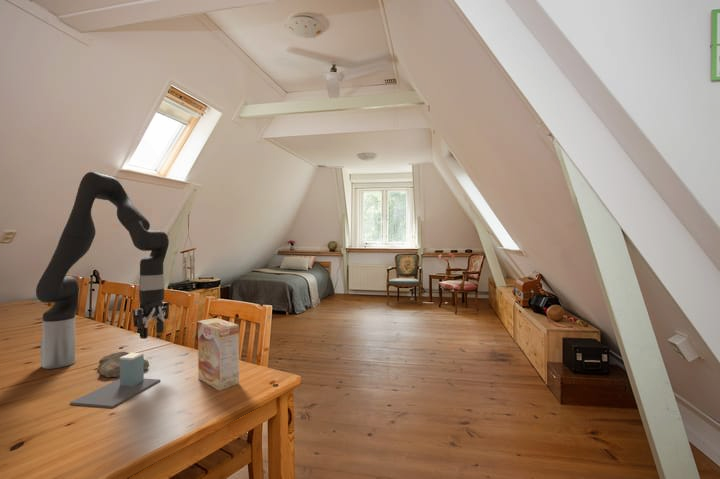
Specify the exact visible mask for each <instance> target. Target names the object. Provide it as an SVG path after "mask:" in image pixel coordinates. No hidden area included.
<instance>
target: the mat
mask: <svg viewBox="0 0 720 479" xmlns="http://www.w3.org/2000/svg"><path fill="white" fill-rule="evenodd" d="M160 382H161V379H159V378H157V379H156V378H144V381H142V382H140V383H138V384H136V385H135V386H133V387H131V386H120V378H118V379H115V380H114V381H112V382H110V383H108V384H106V385H104V386H101V387H99V388H97V389H96V390H93V391H91V392H88V393H86V394H85V395H82V396H79V397H78V398H76V399H74V400H72V401H70V402H69V405H72V406H73V405H75V406H83V407H84V406H85V407H95V408H109V409H113V408H115V407H118V406H119V405H122V403H124V402H126V401H128V400H130V399H131V398H133V397H135V396H137V395H139V394H140V393H142V392H144V391H145V390H148V389H149V388H151V387H153V386H155V385H156V384H158V383H160Z"/></svg>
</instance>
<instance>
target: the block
mask: <svg viewBox="0 0 720 479" xmlns="http://www.w3.org/2000/svg"><path fill="white" fill-rule="evenodd" d="M144 360H145V359H144V353H140V352H130V354H127V355H125V356H122V357H120V377H119V379H120V386H131V387H133V386H135V385H136V384H138V383H140V382H142V381H144V376H145V375H144V373H145V371H144Z"/></svg>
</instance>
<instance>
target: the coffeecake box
mask: <svg viewBox="0 0 720 479" xmlns="http://www.w3.org/2000/svg"><path fill="white" fill-rule="evenodd" d="M239 328H240V325H239V324H237V323H234V322H231V321H227V320H225V319H221V318H218V317H216V318H215V317H214V318H209V319H202V320H198V321H197V339H198V340H197V341H198V342H197V346H198V347H197V348H198V349H197V350H198V351H197V352H198V353H197V357H198V359H197V360H198V362H197V363H198V365H197V366H198V368H197V370H198V373H197V375H198V376H197V377H198V380H201V381H202V382H204V383H205V384H207V385H209V386H211V387H212V388H214V389H216V390H218V391H219V392H220V391H223V390H227V389H228V388H231V387H234V386H237V385H240V359H239V358H240V355H239V354H240V351H239V350H240V346H239V345H240V343H239V342H240V340H239V338H240V335H239V333H240V331H239V330H240V329H239Z"/></svg>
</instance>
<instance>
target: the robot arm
mask: <svg viewBox="0 0 720 479" xmlns="http://www.w3.org/2000/svg"><path fill="white" fill-rule="evenodd" d="M96 199H98V200H103V201H108V202H110V203H112V204H113V205H114V207H116V216H117V220H118V221H119V223H120V224H121V225H122V226H123V228H125V229H126V230H127V232H128V233H129V236H130V239H131V241H132V244H133V246H134V247H135V248H136V249H138V250H140V251H143V252H146V251H147V252H150V254H149V256H147V257H144V258H141V259H140V262H139V279H138V280H139V281H138V301H139V303H140V304H141V305H140V308H134V309H133V310H132V316H133V318H132V319H133V327H134V328H138V329H139V337H140V339H143V340H144V339H148V336H149V335H148V333H149V332H148V330H149V329H148V325H149V323H150V322H151V320H152V318H154V319H155V320H156V322H155V323H156V324H155V325H156V326H155V328H156V329H155V330H156V333H157V334H160V333H161V334H162V333H164V328H165V327H164V324H165V321H166V320H167V319H169V313H170V312H169V311H170V302H166V301H165V277H164V261H165V259H166V255H167V252H168V249H169V236H168V235H167V233H166V232H165V231H162V230H149V229H150V227H151V223H150V222H149V220H148V219H147V218H146V217H145V216H144V215H143V214H142V212H140V211H139V209H138V208H137V207H136V206H135V204H134V203H133V201H132V200H131V199H130V197H129V194H128V193H127V191H126V190H125V188H124V187H123V185H122V184H121V182H120V181H119V180H118V179H117V178H115V177H114V176H111V175H106V174H102V173H99V172H96V171H95V172H94V171H89V172H86V173H85V174H84V175H83V176H82V178H81V180H80V183H79V186H78V188H77V192H76V196H75V199H74V204H73V206H72V209H71V212H70V214H69V217H68V219H67V221H66V224H65V226H64V228H63V231H62V233H61V235H60V238H59V241H58V243H57V245H56V248H55V250H54V252H53V254H52V256H51V259H50V261H49V263H48V265H47V266H46V268H45V270H44V272H43V273H42V275H41V277H40V278H39V281H38V283H37V285H36V289H35V295H36V298H37V299H38V301H40V302H41V303H46V304H47V303H49V304H51V303H54V304H53V306H51V307H50V308H49V309H48V310H45V312H44V313H43V314H42V340H41V341H40V367H42V368H43V369H44V370H45V369H46V370H49V369H51V370H52V369H58V368H59V369H60V368H63V367H64V368H65V367H67V366H70V365H72V364H75V363H76V313H77V310H78V308H79V307H78V306H79V293H80V292H79V291H80V290H79V289H80V288H79V284H78V280H77V279H76V278H75V277H74V276H71V275H67V274H68V272H69V270H70V269H71V268H72V267H73V266H74V265H75V264H76V263H77V262H78V261H79V260H81V259H82V257H84V256H85V255H86V254H87V253H88V252H89V250H90V248H91V247H92V244H93V242H94V239H95V236H96V227H95V222H94V220H93V217H92V208H93V204H94V202H95V200H96Z"/></svg>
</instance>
